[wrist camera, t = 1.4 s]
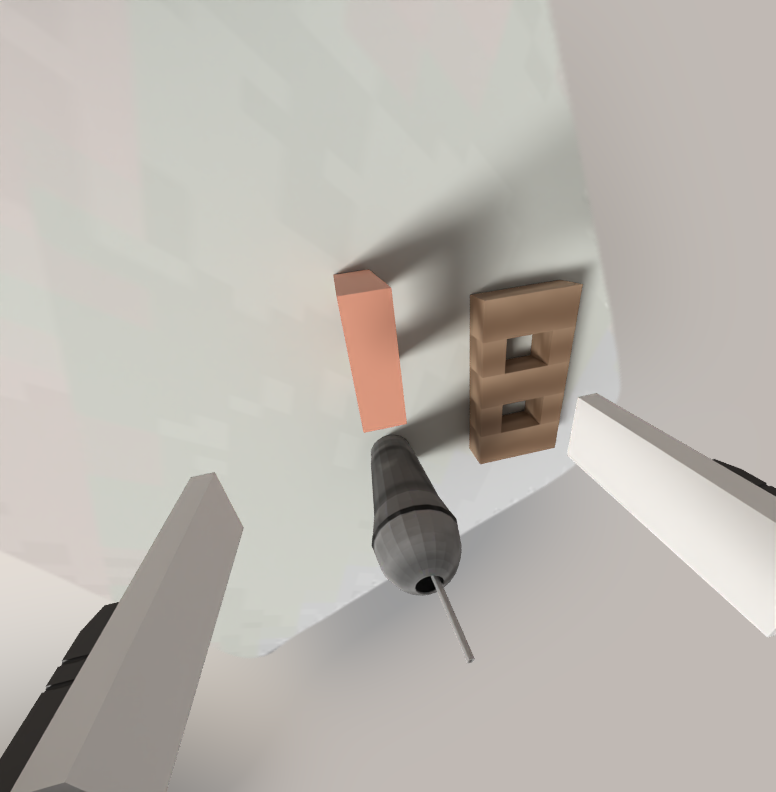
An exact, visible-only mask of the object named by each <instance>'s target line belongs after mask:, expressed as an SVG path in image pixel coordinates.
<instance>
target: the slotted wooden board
mask: <svg viewBox="0 0 776 792" xmlns="http://www.w3.org/2000/svg"><path fill="white" fill-rule="evenodd" d="M582 286H583V284H579V283H574V282H569V281H564V280H556V281H550V282H544V283H538V284H532V285H526V286H520V287H514V288H508V289H502V290H496V291H490V292H484V293H478V294H472V295H470V433H469V448H470V450H471V451H472V453H473V454H474V456H475V457H476V459H477V460H478V462H479V463H480V464H483V463H488V462H492V461H497V460H501V459H506V458H510V457H515V456H519V455H524V454H528V453H533V452H537V451H542V450H546V449H551V448H555V443H556V437H557V431H558V425H559V419H560V413H561V408H562V402H563V396H564V390H565V384H566V379H567V373H568V367H569V361H570V355H571V350H572V344H573V338H574V332H575V326H576V321H577V315H578V309H579V303H580V297H581V292H582ZM531 334H533V335H532V345H531V354H530V355H528V356H522V357H517V358H512V359H507V360H506V346H507V339H510V338H515V337H520V336H526V335H531ZM525 400H526V402H525V411H521V412H517V413H512V414H507V415H502V408H503V405H505V404H510V403H515V402H520V401H525Z"/></svg>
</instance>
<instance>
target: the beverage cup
mask: <svg viewBox="0 0 776 792" xmlns="http://www.w3.org/2000/svg"><path fill="white" fill-rule="evenodd" d="M371 457H372V458H371V470H372V486H373V501H374V528H373V537H372V548H373V550H374V552H375V555H376V558H377V560H378V563H379V565H380V567H381V570H382V572H383V573H384V575H385V576H386V578H387V579H388V580H389V581H390V582H391V583H393V584H394V585H395V586H396V587H397V588H399V589H400V590H402V591H404V592H407V593H410V594H413V595H429V594H432V593H435V592H438V595H439V597H440V599H441V602H442V604H443V606H444V609H445V611H446V614H447V616H448V618H449V621H450V623H451V625H452V627H453V630H454V632H455V635H456V637H457V639H458V642H459V644H460V647H461V649H462V651H463V654H464V656H465V659H466V661H467V663H471V662H473V661H474V656H473V654H472V652H471V649H470V647H469V645H468V643H467V640H466V638H465V636H464V633H463V631H462V629H461V627H460V624H459V622H458V620H457V617H456V616H455V613H454V611H453V608H452V606H451V604H450V601H449V599H448V597H447V595H446V592H445V590H444V587H445V586H446V585H447V584H448V583H449V582H450V581H451V579H452V578H453V576H454V575H455V573H456V571H457V568H458V566H459V562H460V558H461V541H460V535H459V530H458V525H457V520H456V518H455V517H454V515H453V514H452V513H451V512H450V511H449V510H448V508H447V507H446V505H445V504H444V503H443V502H442V500H441V499H440V498H439V496H438V495H437V493H436V491H435V489H434V487H433V485H432V484H431V482H430V480H429V478H428V476H427V475H426V473H425V471H424V469H423V467H422V466H421V464H420V462H419V460H418V458H417V457H416V455H415V453H414V451H413V450H412V448H411V447H410V446H409V443H408V442H407V441H406V439H404V438H402V437H401V436H397V435H389V436H385V437H382V438H381V439H379V440H378V441H377V442H376V443H375V444H374V445H373V447H372V450H371Z"/></svg>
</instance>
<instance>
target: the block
mask: <svg viewBox="0 0 776 792" xmlns="http://www.w3.org/2000/svg"><path fill="white" fill-rule="evenodd" d="M334 282H335V289H336V295H337V301H338V306H339V311H340V316H341V321H342V326H343V331H344V336H345V341H346V346H347V351H348V356H349V361H350V366H351V371H352V376H353V381H354V386H355V391H356V396H357V401H358V406H359V411H360V416H361V421H362V426H363V431H364V433H365V432H369V431H374V430H379V429H384V428H389V427H394V426H399V425H404V424H407V421H406V412H405V404H404V395H403V386H402V378H401V369H400V360H399V351H398V343H397V334H396V325H395V316H394V308H393V299H392V290H391V287H390V286H389V285H387V284H386V283H385V282H384V281H382V280H381V279H380V278H379V277H377V276H376V275H375V274H374V273H373V272H371V271H370V270H369V269H368V270H361V271H355V272H348V273H342V274H335V275H334Z"/></svg>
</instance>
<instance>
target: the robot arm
mask: <svg viewBox="0 0 776 792" xmlns="http://www.w3.org/2000/svg"><path fill="white" fill-rule="evenodd" d="M567 456H568V457H569V458H571V459H572V460H573V461H574V462H575V463H576V464H577V465H578V466H580V468H582V469H583V470H584V471H585V472H586V473H587V474H588V475H589V476H590V477H592V478H593V479H594V480H595V481H596V482H597V483H598V484H599V485H600V486H602V488H604V489H605V490H606V491H607V492H608V493H609V494H610V495H611V496H612V497H614V498H615V499H616V500H617V501H618V502H619V503H620V504H621V505H622V506H623V507H625V508H626V509H627V510H628V511H629V512H630V513H631V514H632V515H634V517H636V518H637V519H638V520H639V521H640V522H641V523H642V524H643V525H644V526H645V527H647V528H648V529H649V530H650V531H651V532H652V533H653V534H654V535H655V536H656V537H658V538H659V539H660V540H661V541H662V542H663V543H664V544H665V545H666V546H668V547H669V548H670V549H671V550H672V551H673V552H674V553H675V554H676V555H677V556H678V557H680V558H681V559H682V560H683V561H684V562H685V563H686V564H687V565H688V566H690V567H691V568H692V569H693V570H694V571H695V572H696V573H697V574H698V575H699V576H700V577H702V578H703V579H704V580H705V581H706V582H707V583H708V584H709V585H710V586H711V587H713V588H714V589H715V590H716V591H717V592H718V593H719V594H720V595H721V596H722V597H724V598H725V599H726V600H727V601H728V602H729V603H730V604H731V605H732V606H733V607H735V608H736V609H737V610H738V611H739V612H740V613H741V614H742V615H743V616H744V617H746V618H747V619H748V620H749V621H750V622H751V623H752V624H753V625H754V626H755V627H757V628H758V629H759V630H760V631H761V632H762V633H763V634H764V635H766V636H767V637H770V636H774V635H776V488H774V487H772V486H767V485H766V483H765V482H763V481H762V480H760V479H758V478H756V477H754V476H753V475H751V474H749V473H747V472H746V471H744V470H742V469H739V468H737V467H734V466H731V465H729V464H726V463H724V462H721V461H718V460H715V459H713V460H711V459H709V458H708V457H706V456H705V455H703V454H701V453H699V452H698V451H696V450H694V449H692V448H691V447H689V446H687V445H685V444H684V443H682V442H680V441H679V440H677V439H675V438H673V437H672V436H670V435H668V434H666V433H665V432H663V431H661V430H659V429H658V428H656V427H654V426H653V425H651V424H649V423H647V422H645V421H644V420H642V419H640V418H639V417H637V416H635V415H634V414H632V413H630V412H628V411H626V410H625V409H623V408H621V407H620V406H618V405H616V404H614V403H613V402H611V401H609V400H608V399H606V398H604V397H602V396H601V395H599V394H597V393H596V394H591V395H586V396H581V397H578V399H577V404H576V410H575V415H574V420H573V425H572V430H571V436H570V441H569V446H568V451H567ZM242 532H243V526H242V524H241V522H240V520H239V518H238V516H237V514H236V512H235V510H234V508H233V506H232V504H231V502H230V501H229V499H228V497H227V495H226V493H225V491H224V489H223V487H222V485H221V483H220V481H219V479H218V477H217V475H216V474H215V472H214V473H209V474H204V475H199V476H195V477H191V478H190V480H189V482H188V483H187V485H186V487H185V489H184V490H183V492H182V494H181V495H180V497H179V499H178V501H177V502H176V504H175V506H174V508H173V509H172V511H171V513H170V515H169V516H168V518H167V520H166V522H165V523H164V525H163V527H162V529H161V530H160V532H159V534H158V536H157V537H156V539H155V541H154V543H153V544H152V546H151V548H150V549H149V551H148V553H147V555H146V556H145V558H144V560H143V562H142V563H141V565H140V567H139V569H138V570H137V572H136V574H135V576H134V577H133V579H132V581H131V583H130V584H129V586H128V588H127V590H126V591H125V593H124V595H123V597H122V598H121V600H120V602H117V603H113V604H109V605H105V606H104V607H103V608H102V609H101V610H100V611H99V612H98V613H97V614H96V615H95V616H94V618H93V619H92V620H91V621H90V622H89V623H88V624H87V625H86V626H85V627H84V628H83V630H81V631H80V633H79V635H78V636H77V638H76V639H75V641H74V643H73V644H72V646H71V647H70V649H69V650H68V652H67V654H66V655H65V657H64V658H63V660H62V665H61V666H60V667H58V668H57V670H56V671H55V673H54V674H53V676H52V677H51V679H50V681H49V682H48V684H47V685H46V691H45V692H44V693H41V695H40V697H39V698H38V700H37V701H36V703H35V704H34V706H33V708H32V709H31V711H30V712H29V714H28V716H27V717H26V719H25V721H24V722H23V723H22V725H21V727H20V728H19V730H18V732H17V733H16V735H15V736H14V738H13V739H12V741H11V743H10V744H9V746H8V747H7V749H6V751H5V752H4V754H3V755H2V757H1V758H0V792H167V788H168V785H169V782H170V778H171V775H172V771H173V768H174V764H175V761H176V758H177V754H178V751H179V747H180V744H181V740H182V737H183V733H184V730H185V726H186V723H187V720H188V716H189V713H190V710H191V706H192V703H193V699H194V696H195V693H196V689H197V686H198V682H199V679H200V675H201V672H202V668H203V665H204V662H205V658H206V655H207V651H208V648H209V645H210V641H211V638H212V634H213V631H214V628H215V624H216V621H217V617H218V614H219V610H220V607H221V604H222V600H223V597H224V593H225V590H226V586H227V583H228V580H229V576H230V573H231V569H232V566H233V562H234V559H235V556H236V552H237V549H238V545H239V542H240V538H241V535H242Z"/></svg>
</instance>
